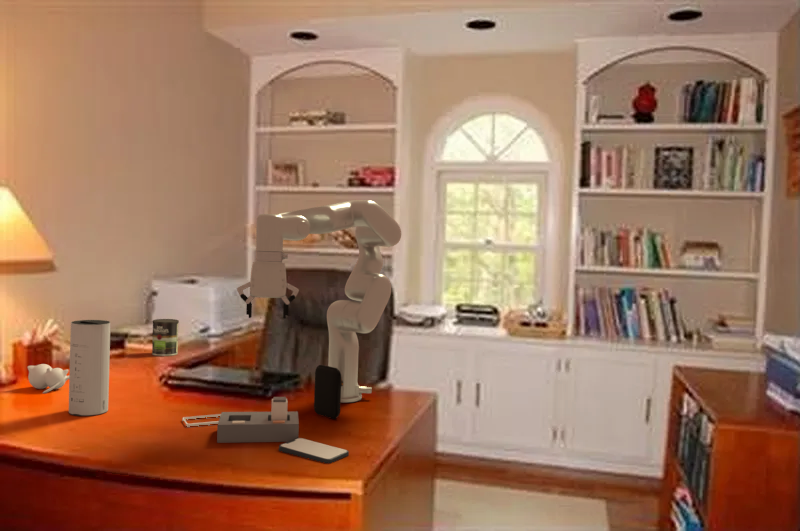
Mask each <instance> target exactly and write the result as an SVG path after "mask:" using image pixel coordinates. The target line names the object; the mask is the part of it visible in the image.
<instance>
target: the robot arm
mask: <svg viewBox="0 0 800 531" xmlns="http://www.w3.org/2000/svg"><path fill="white" fill-rule="evenodd" d="M351 228H355V232H354V235H355V236H354V237H355V240H356V243H357V248H358V258H357V261H356V263H355V265H354V267H353V268H352V271H351V273H350V275H349V276H348V278H347V280H346V283H345V286H344V294H345V295H346V297H348V299H339V300H336V301H334V302H332V303H330V305H329V306H328V309H327V311H326V322H327V329H328V365H327V366H330V367H334V368H337V369H338V370H339V371H340V373H341V376H342V380H343V386H341V401H340V404H342V403H346V404H347V403H355V402H358V401H361V400H362V397H363V395H362V394H372V391H373V390H372V388H373V387H371V386H370V387H369V386H368V387H367V385H365V386H360V385H359V383H358V375H359V374H358V372H359V350H360V346H359V345H360V344H359V339H358V335H357V333H359V334H369V333H371V332H372V331H373V330H375V328H376V327H377V325H378V323H379V321H380V320H381V318H382V315H383V313H384V310H385V309H386V307H387V305H388V303H389V300H390V297H391V294H392V283H391V281H390V279H389V277H387V276H386V275H385V274H382V273H381V271H382V270H383V264H384V260H383V255H382V253H381V250H380V247H387V248H390V247H394V246H396V245H397V244H398V243H399V242H400V241H401V238H402V229H401V226H400V225H399V223H398V222H397V221H396V220H395V219H394V217H392V216H391V215H390V213H389V212H387V211H386V210H385V209H384V208H383V207H382V206H381V205H380V204H378V203H377V202H375V201H374V200H365V199H364V200H356V199H355V200H347V201H342V202H337V203H331V204H326V205H321V206H314V207H309V208H305V209H297V210H292V211H285V212H280V213H274V214H273V213H262V214H261V213H260V214H259V215H258V216H256V232H255V235H256V236H255V261H253V262H252V264H251V272H250V280H249V282H246V283H244V284H241V285H239V286H238V287H236V291H237V293H238V295H239V296H240V299H241V300H242V301H244V303H246V312H245V313H246V315H248V319H251V318H252V316H253V314H252V313H253V303H252V301H253V300H254V298H266V299H267V298H269V299H273V298H274V299H275V298H276V299H281V300H282V301H283V302H284V303H283V308H282V309H283V311H282V312H283V313H282V314H283V315H282V318H283V319H284V320H285V319H287V318H286V316H289V306H290V304H291V302H293V301H294V300H295V299H296V297H297V296H298V294H299V292H300V289H299V288H297V287H295V286H294V285H293V284H290V283H288V282H287V267H286V263H285V262H283V260H288V259H289V258H288V254H287V253H283V252H284V250H283V248H284V244H283V243H284V241H295V242H297V241H302V240H304V239H306V238H307V237H308V236H309V234H311V235H322V234H331V233H334V232H338V231H343V230H346V229H347V230H348V229H351ZM248 288H249V296H246V294H245V293H244V290H245V289H248ZM287 289H288V290H291V292H292V294H291V295H290V296H289V297H287V296H286V294H287ZM349 299H350V300H349Z"/></svg>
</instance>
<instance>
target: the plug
mask: <svg viewBox="0 0 800 531" xmlns="http://www.w3.org/2000/svg"><path fill="white" fill-rule="evenodd" d="M270 412H271V421H273V420H285V421H287V412H288V398H287V397H286V396H273V398H271V411H270Z"/></svg>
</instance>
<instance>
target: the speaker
mask: <svg viewBox="0 0 800 531" xmlns="http://www.w3.org/2000/svg"><path fill="white" fill-rule="evenodd" d="M69 338H70V342H69V344H70V345H69V348H70V349H69V373H68V374H69V375H68V376H69V379H68V380H69V382H68V385H69V386H68V414H70V416H75V417H76V416H77V417H92V416H99V415H102V414H105V413H107V412H108V411H109V397H110V396H109V393H110V392H109V387H110V357H111V356H110V354H111V352H110V350H111V348H110V347H111V321H110V320H106V319H105V320H103V319H79V320H74V321H71V322H70V337H69Z"/></svg>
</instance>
